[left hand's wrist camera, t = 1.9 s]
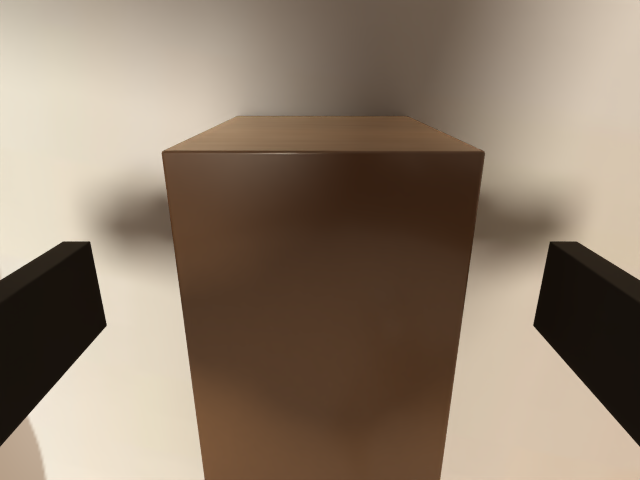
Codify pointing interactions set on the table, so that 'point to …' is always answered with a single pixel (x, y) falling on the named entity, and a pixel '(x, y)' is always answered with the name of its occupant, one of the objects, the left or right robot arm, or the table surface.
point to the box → (322, 292)
